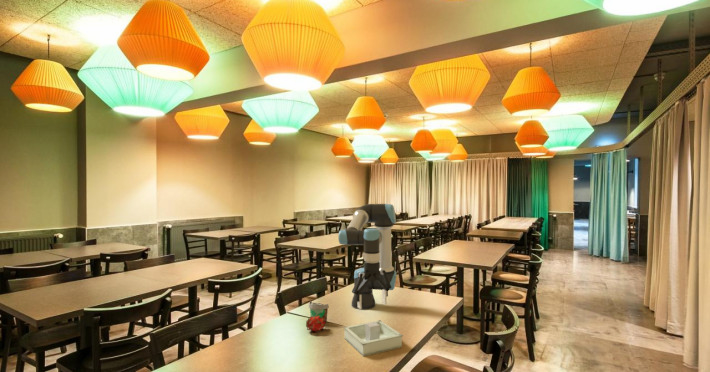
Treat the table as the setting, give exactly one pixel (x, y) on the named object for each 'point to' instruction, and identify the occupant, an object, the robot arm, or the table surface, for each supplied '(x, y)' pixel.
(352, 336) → the bin
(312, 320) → the dragon fruit
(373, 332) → the stone block
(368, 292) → the robot arm
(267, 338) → the table surface
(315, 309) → the food container
